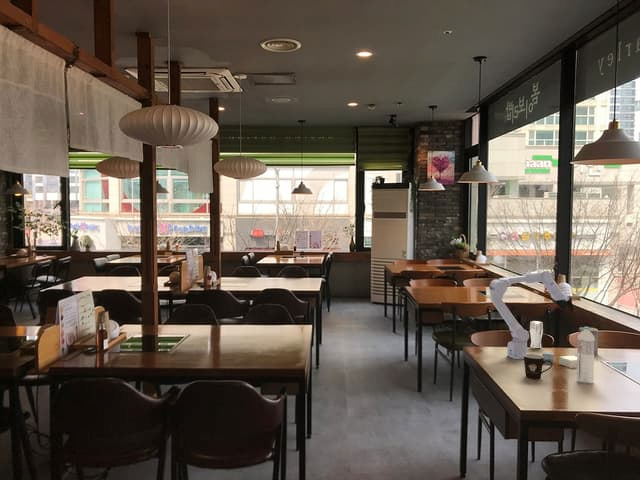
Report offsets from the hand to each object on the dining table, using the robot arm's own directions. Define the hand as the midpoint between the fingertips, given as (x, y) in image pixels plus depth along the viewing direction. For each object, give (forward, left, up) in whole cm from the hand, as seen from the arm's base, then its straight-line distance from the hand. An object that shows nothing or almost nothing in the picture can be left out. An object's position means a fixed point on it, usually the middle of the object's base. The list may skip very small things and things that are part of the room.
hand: (568, 309), depth 279 cm
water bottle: (-25, -40, -26) cm, 54 cm away
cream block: (-10, -14, -26) cm, 31 cm away
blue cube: (-18, -7, -26) cm, 32 cm away
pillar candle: (+18, +6, -26) cm, 32 cm away
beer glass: (-2, +24, -26) cm, 35 cm away
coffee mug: (-43, -30, -26) cm, 59 cm away
